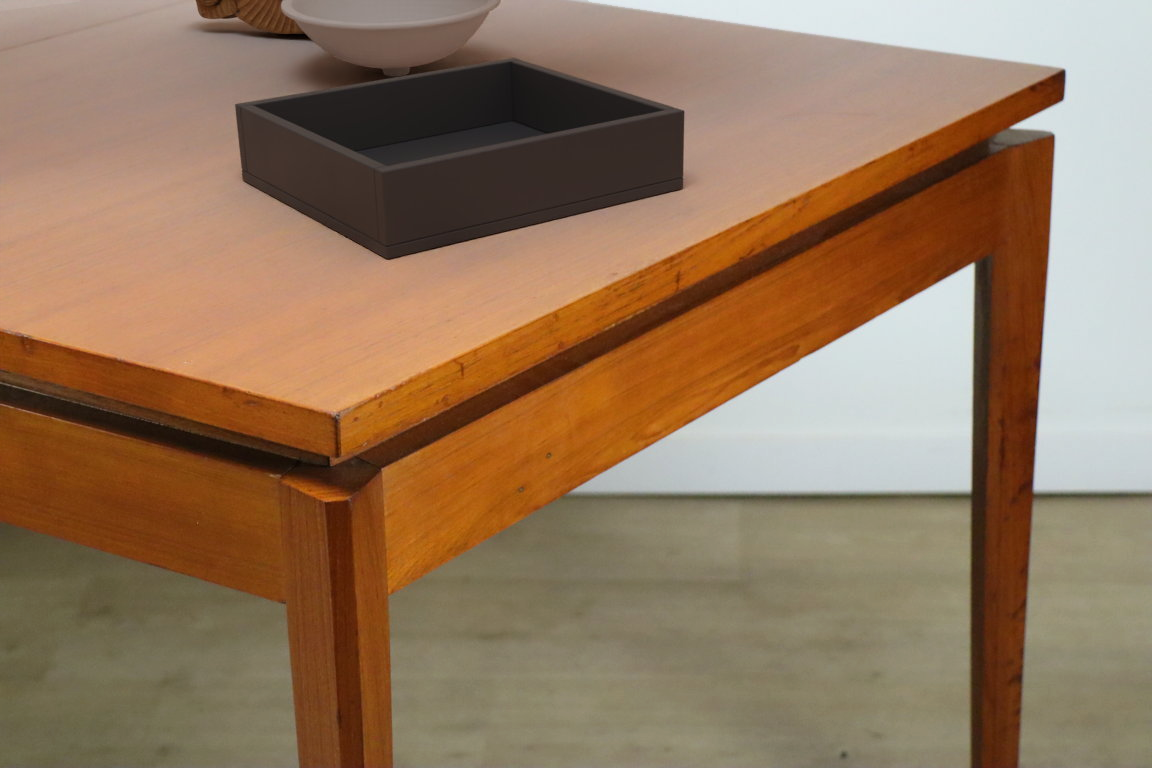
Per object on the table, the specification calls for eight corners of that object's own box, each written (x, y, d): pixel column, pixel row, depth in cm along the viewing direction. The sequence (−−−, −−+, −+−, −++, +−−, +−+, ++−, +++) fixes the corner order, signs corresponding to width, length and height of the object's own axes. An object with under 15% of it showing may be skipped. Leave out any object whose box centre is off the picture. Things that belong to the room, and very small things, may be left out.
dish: (302, 48, 110) (296, -23, 107) (501, 43, 110) (499, -27, 108) (272, 109, 94) (264, 27, 91) (505, 103, 94) (502, 22, 92)
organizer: (242, 180, 80) (234, 103, 78) (515, 126, 89) (514, 57, 87) (387, 259, 69) (381, 171, 67) (683, 188, 78) (685, 110, 76)
